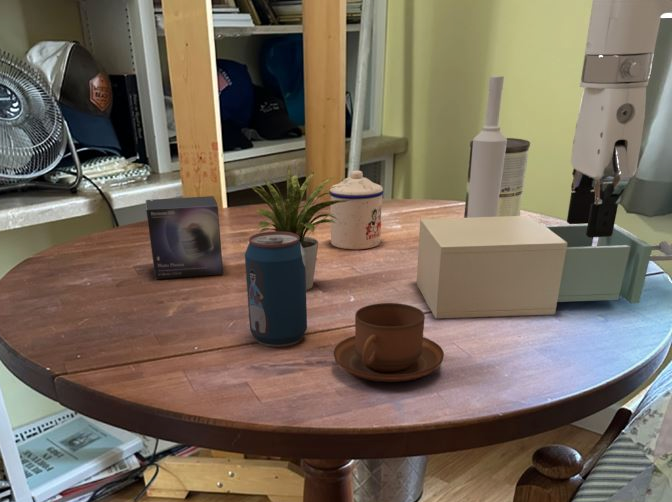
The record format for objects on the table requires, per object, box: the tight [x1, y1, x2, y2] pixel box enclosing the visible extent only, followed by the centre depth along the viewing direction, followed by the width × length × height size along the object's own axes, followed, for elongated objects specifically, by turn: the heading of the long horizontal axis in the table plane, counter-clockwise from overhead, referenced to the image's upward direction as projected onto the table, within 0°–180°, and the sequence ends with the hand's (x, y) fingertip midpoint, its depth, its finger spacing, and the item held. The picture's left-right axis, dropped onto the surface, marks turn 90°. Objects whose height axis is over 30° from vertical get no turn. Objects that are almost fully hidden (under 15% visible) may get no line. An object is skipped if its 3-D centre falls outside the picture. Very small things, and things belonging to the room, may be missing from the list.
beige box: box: [415, 215, 567, 320], centre depth 94 cm, size 16×15×9 cm
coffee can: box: [463, 137, 531, 218], centre depth 127 cm, size 10×10×14 cm
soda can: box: [244, 231, 308, 348], centre depth 82 cm, size 7×7×12 cm
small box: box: [145, 195, 224, 280], centre depth 107 cm, size 11×6×10 cm, turn 102°
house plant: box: [246, 165, 351, 291], centre depth 97 cm, size 14×14×16 cm
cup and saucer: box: [333, 302, 445, 383], centre depth 76 cm, size 12×12×6 cm
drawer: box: [544, 223, 672, 304], centre depth 94 cm, size 22×13×7 cm, turn 93°
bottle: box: [467, 75, 507, 218], centre depth 111 cm, size 5×5×25 cm
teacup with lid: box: [328, 170, 384, 250], centre depth 120 cm, size 12×9×12 cm
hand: (588, 228), depth 92 cm, fingers open, 6 cm apart
